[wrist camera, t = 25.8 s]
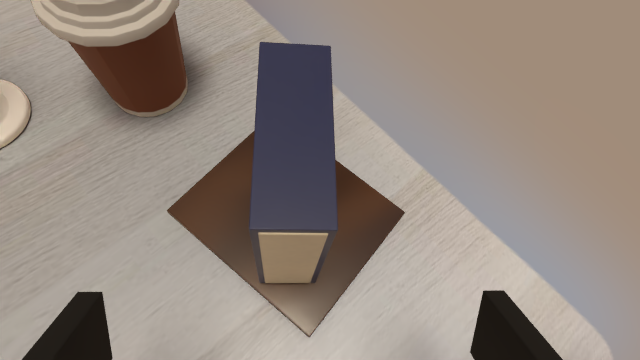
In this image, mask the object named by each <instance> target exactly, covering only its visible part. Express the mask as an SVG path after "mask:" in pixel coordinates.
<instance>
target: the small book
mask: <svg viewBox="0 0 640 360" xmlns="http://www.w3.org/2000/svg"><path fill="white" fill-rule="evenodd" d="M337 231H338V215H337V191H336V166H335V142H334V117H333V92H332V68H331V47H330V46H323V45H305V44H287V43H269V42H260V48H259V65H258V81H257V98H256V115H255V132H254V148H253V165H252V182H251V199H250V215H249V233H250V238H251V243H252V248H253V253H254V258H255V263H256V268H257V272H258V277H259V282H260V283H315V282H316V280H317V278H318V275H319V273H320V271H321V268H322V266H323V264H324V261H325V259H326V257H327V254H328V252H329V250H330V247H331V245H332V243H333V240H334V238H335V236H336V233H337Z"/></svg>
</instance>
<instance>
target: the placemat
mask: <svg viewBox="0 0 640 360" xmlns="http://www.w3.org/2000/svg"><path fill="white" fill-rule="evenodd" d="M254 132H255V131H254ZM254 132H252V133H251V134H250V135H249V136H248V137H247V138H246V139H245V140H244V141H243V142H241V143H240V144H239V145H238V146H237V147H236V148H235V149H234V150H233V151H232V152H230V153H229V154H228V155H227V156H226V157H225V158H224V159H223V160H222V161H221V162H219V163H218V164H217V165H216V166H215V167H214V168H213V169H212V170H211V171H210V172H209V173H207V174H206V175H205V176H204V177H203V178H202V179H201V180H200V181H199V182H198V183H196V184H195V185H194V186H193V187H192V188H191V189H190V190H189V191H188V192H187V193H185V194H184V195H183V196H182V197H181V198H180V199H179V200H178V201H177V202H176V203H174V204H173V205H172V206H171V207H170V208H169V209H168V210H167V211H168V213H169V214H170V215H171V216H173V217H174V218H175V219H176V220H177V221H178V222H179V223H180V224H182V225H183V226H184V227H185V228H186V229H187V230H188V231H190V232H191V233H192V234H193V235H194V236H195V237H196V238H197V239H199V240H200V241H201V242H202V243H203V244H204V245H205V246H206V247H208V248H209V249H210V250H211V251H212V252H213V253H214V254H216V255H217V256H218V257H219V258H220V259H221V260H222V261H223V262H225V263H226V264H227V265H228V266H229V267H230V268H231V269H233V270H234V271H235V272H236V273H237V274H238V275H239V276H240V277H242V278H243V279H244V280H245V281H246V282H247V283H248V284H249V285H251V286H252V287H253V288H254V289H255V290H256V291H257V292H259V293H260V294H261V295H262V296H263V297H264V298H265V299H266V300H268V301H269V302H270V303H271V304H272V305H273V306H274V307H275V308H277V309H278V310H279V311H280V312H281V313H282V314H283V315H285V316H286V317H287V318H288V319H289V320H290V321H291V322H292V323H294V324H295V325H296V326H297V327H298V328H299V329H300V330H302V331H303V332H304V333H305V334H306V335H307V336H308V337H310V336H311V334H312V333H313V332H314V330H315V329H316V328H317V326H318V325H319V324H320V323H321V321H322V320H323V319H324V317H325V316H326V315H327V313H328V312H329V311H330V310H331V308H332V307H333V306H334V304H335V303H336V302H337V300H338V299H339V298H340V297H341V295H342V294H343V293H344V291H345V290H346V289H347V287H348V286H349V285H350V283H351V282H352V281H353V280H354V278H355V277H356V276H357V274H358V273H359V272H360V270H361V269H362V268H363V267H364V265H365V264H366V263H367V261H368V260H369V259H370V257H371V256H372V255H373V254H374V252H375V251H376V250H377V248H378V247H379V246H380V244H381V243H382V242H383V240H384V239H385V238H386V237H387V235H388V234H389V233H390V231H391V230H392V229H393V227H394V226H395V225H396V224H397V222H398V221H399V220H400V218H401V217H402V216H403V214H404V213H405V212H404V211H403V210H401V209H400V208H399V207H397V206H396V205H395V204H393V203H392V202H391V201H389V200H388V199H387V198H385V197H384V196H383V195H381V194H380V193H379V192H377V191H376V190H375V189H373V188H372V187H371V186H369V185H368V184H367V183H365V182H364V181H363V180H361V179H360V178H359V177H357V176H356V175H355V174H353V173H352V172H351V171H350V170H348V169H347V168H346V167H344V166H343V165H342V164H340V163H339V162H338V161H336V160H335V166H336V191H337V215H338V231H337V233H336V236H335V238H334V240H333V243H332V245H331V247H330V250H329V252H328V254H327V257H326V259H325V261H324V264H323V266H322V268H321V271H320V273H319V275H318V278H317V280H316V282H315V283H260V282H259V277H258V272H257V268H256V263H255V258H254V253H253V248H252V243H251V238H250V233H249V215H250V199H251V182H252V165H253V148H254Z"/></svg>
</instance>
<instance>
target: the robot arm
mask: <svg viewBox="0 0 640 360" xmlns="http://www.w3.org/2000/svg"><path fill="white" fill-rule="evenodd" d="M470 353H471V354H472V356H473V358H474V360H562V358H561V357H560V356H559V355H558V354H557V352H556V351H555V350H554V349H553V348H552V347H551V345H550V344H549V343H548V342H547V341H546V340H545V338H544V337H543V336H542V335H541V334H540V333H539V331H538V330H537V329H536V328H535V327H534V325H533V324H532V323H531V322H530V321H529V320H528V318H527V317H526V316H525V315H524V314H523V313H522V311H521V310H520V309H519V308H518V307H517V305H516V304H515V303H514V302H513V301H512V300H511V298H510V297H509V296H508V295H507V294H506V293H505V291H483V295H482V300H481V304H480V309H479V314H478V318H477V323H476V328H475V332H474V337H473V341H472V346H471V351H470ZM22 360H112V352H111V346H110V339H109V333H108V326H107V320H106V314H105V307H104V301H103V294H102V292H78V293H77V294H76V295H75V296H74V297H73V299H72V300H71V301H70V302H69V303H68V305H67V306H66V307H65V308H64V309H63V311H62V312H61V313H60V314H59V315H58V317H57V318H56V319H55V320H54V321H53V323H52V324H51V325H50V326H49V328H48V329H47V330H46V331H45V332H44V334H43V335H42V336H41V337H40V338H39V340H38V341H37V342H36V343H35V344H34V346H33V347H32V348H31V349H30V350H29V352H28V353H27V354H26V355H25V356H24V358H23V359H22Z"/></svg>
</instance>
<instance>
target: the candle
mask: <svg viewBox="0 0 640 360" xmlns="http://www.w3.org/2000/svg"><path fill="white" fill-rule="evenodd" d="M30 113H31V106H30V102H29V100H28V98H27V96H26V95H25V93H24V92H23V91H22V90H21V89H20V88H19V87H18V86H16V85H15V84H13V83H11V82H8V81H5V80H1V79H0V148H2V147H4V146H5V145H7V144H9V143H10V142H11V141H13V140H14V139H15V138H16V137H17V136H18V135H19V134H20V133H21V132H22V131H23V130H24V128H25V127H26V125H27V123H28V121H29V118H30Z"/></svg>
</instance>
